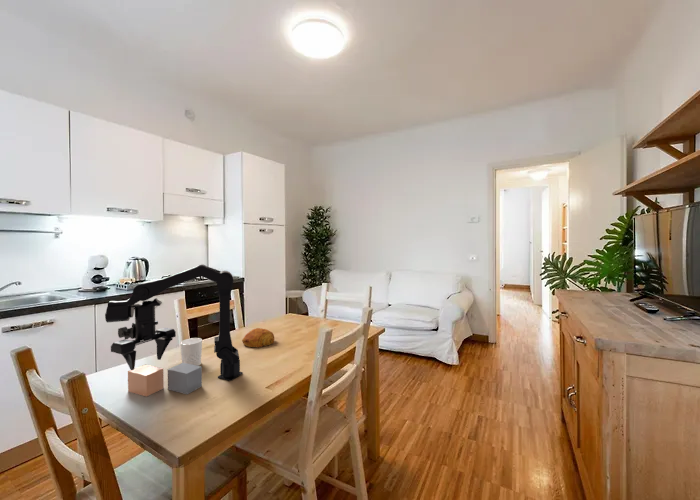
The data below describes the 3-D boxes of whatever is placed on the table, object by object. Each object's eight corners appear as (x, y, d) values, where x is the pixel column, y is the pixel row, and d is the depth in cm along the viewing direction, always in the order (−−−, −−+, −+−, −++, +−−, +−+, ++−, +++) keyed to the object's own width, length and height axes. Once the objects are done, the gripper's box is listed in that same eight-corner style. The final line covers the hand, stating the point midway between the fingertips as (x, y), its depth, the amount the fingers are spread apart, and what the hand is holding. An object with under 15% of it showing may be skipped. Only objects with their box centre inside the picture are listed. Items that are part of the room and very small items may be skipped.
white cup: (193, 370, 119) (193, 345, 119) (176, 368, 121) (175, 343, 121) (206, 362, 127) (206, 338, 127) (190, 360, 129) (189, 337, 128)
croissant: (260, 340, 161) (259, 325, 161) (280, 342, 152) (278, 326, 152) (236, 347, 149) (235, 331, 150) (255, 350, 140) (254, 332, 141)
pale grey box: (201, 386, 106) (201, 366, 106) (187, 394, 101) (186, 373, 100) (183, 381, 109) (182, 362, 109) (167, 389, 104) (167, 369, 104)
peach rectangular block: (163, 388, 104) (163, 368, 104) (146, 396, 99) (146, 375, 99) (145, 383, 108) (145, 364, 107) (128, 391, 102) (127, 371, 102)
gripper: (155, 311, 114) (155, 351, 115) (99, 323, 97) (100, 371, 97) (176, 313, 110) (177, 356, 111) (122, 327, 93) (123, 377, 93)
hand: (146, 364), depth 103 cm, fingers open, 9 cm apart
